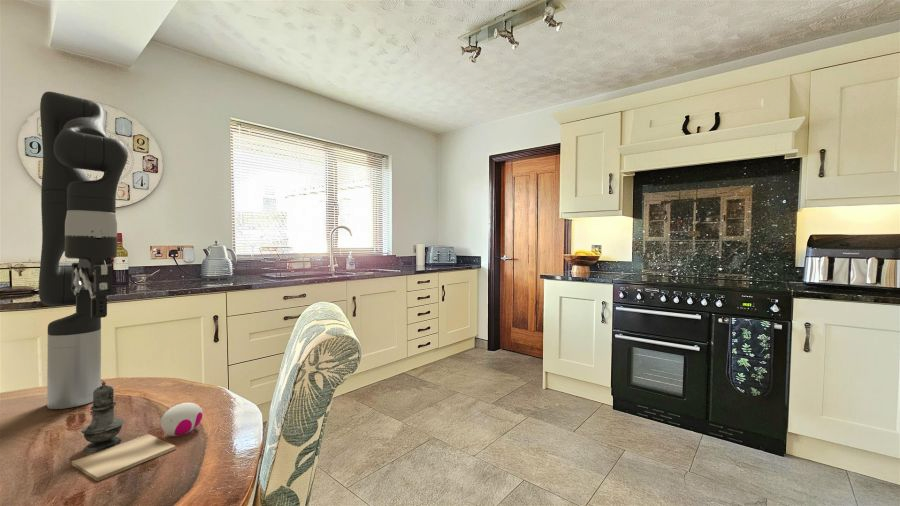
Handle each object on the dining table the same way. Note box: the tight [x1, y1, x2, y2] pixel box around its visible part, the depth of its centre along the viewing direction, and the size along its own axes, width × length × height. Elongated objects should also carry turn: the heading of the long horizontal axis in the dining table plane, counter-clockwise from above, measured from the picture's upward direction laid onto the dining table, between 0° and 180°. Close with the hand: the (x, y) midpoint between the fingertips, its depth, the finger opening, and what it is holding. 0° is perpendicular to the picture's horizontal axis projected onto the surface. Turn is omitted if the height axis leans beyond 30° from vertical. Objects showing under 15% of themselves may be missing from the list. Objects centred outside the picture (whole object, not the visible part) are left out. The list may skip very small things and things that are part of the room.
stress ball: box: [159, 402, 203, 437], centre depth 74 cm, size 8×8×7 cm
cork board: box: [71, 433, 177, 482], centre depth 65 cm, size 10×11×1 cm
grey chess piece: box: [80, 381, 125, 453], centre depth 70 cm, size 6×6×12 cm
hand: (91, 315), depth 74 cm, fingers open, 8 cm apart
